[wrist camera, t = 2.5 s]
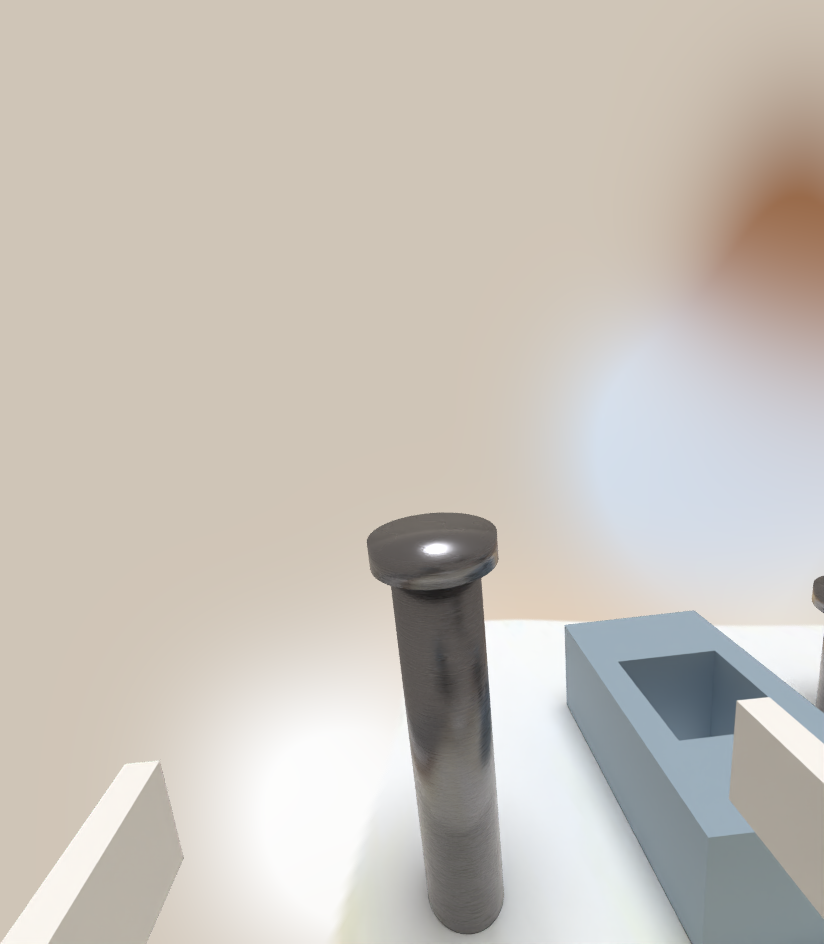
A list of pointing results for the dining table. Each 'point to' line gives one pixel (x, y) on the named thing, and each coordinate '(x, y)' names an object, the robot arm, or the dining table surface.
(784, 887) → the guide block
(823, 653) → the short pin
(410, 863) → the dining table surface
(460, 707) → the tall pin
